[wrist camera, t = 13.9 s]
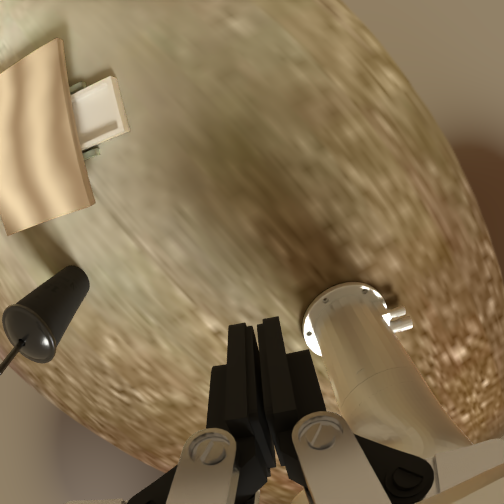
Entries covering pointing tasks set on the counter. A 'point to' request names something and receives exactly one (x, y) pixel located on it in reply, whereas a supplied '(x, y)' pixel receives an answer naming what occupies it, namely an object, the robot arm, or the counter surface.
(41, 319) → the drinking cup
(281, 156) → the counter surface
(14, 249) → the counter surface
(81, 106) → the white rectangular tray
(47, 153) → the shelf
